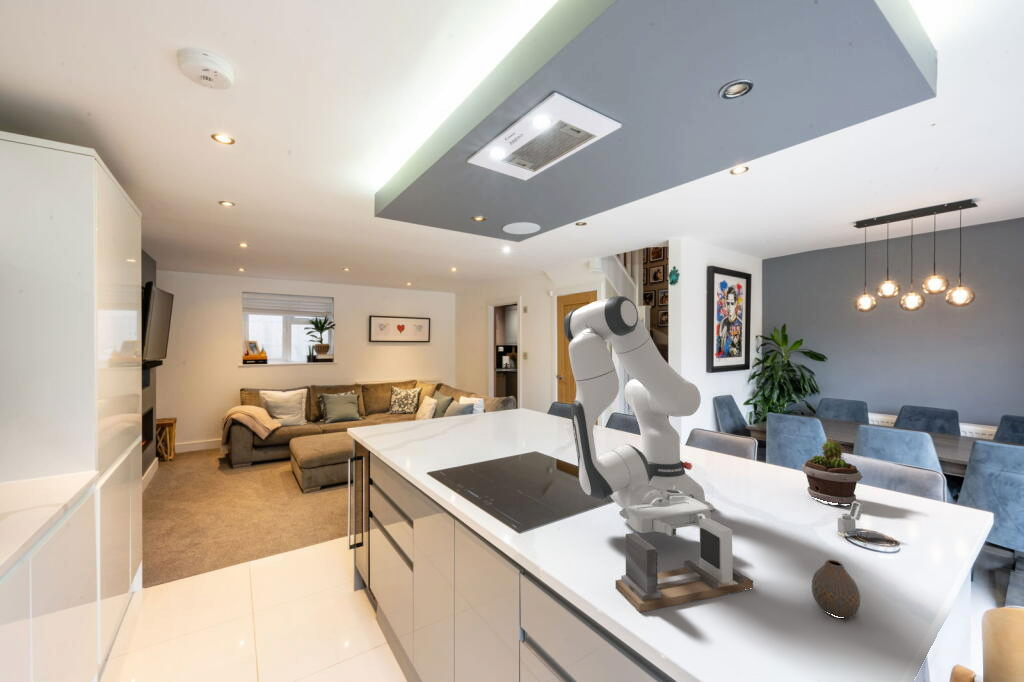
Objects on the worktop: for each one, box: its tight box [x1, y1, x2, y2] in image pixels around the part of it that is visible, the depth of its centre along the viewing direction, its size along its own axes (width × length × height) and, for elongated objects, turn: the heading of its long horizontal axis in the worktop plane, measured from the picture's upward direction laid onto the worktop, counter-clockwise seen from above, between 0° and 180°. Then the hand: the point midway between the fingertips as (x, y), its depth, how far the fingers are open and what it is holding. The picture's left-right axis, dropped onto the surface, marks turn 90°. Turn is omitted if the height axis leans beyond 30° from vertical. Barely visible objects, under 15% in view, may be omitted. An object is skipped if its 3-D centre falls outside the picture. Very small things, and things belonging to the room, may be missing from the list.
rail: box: [615, 532, 754, 613], centre depth 81 cm, size 26×8×10 cm, turn 107°
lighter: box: [837, 501, 864, 534], centre depth 106 cm, size 7×2×8 cm, turn 107°
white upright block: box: [699, 517, 734, 583], centre depth 83 cm, size 3×6×10 cm, turn 17°
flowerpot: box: [801, 437, 863, 505], centre depth 130 cm, size 14×15×20 cm
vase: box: [811, 559, 861, 619], centre depth 74 cm, size 7×7×9 cm
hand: (691, 529), depth 90 cm, fingers open, 8 cm apart
